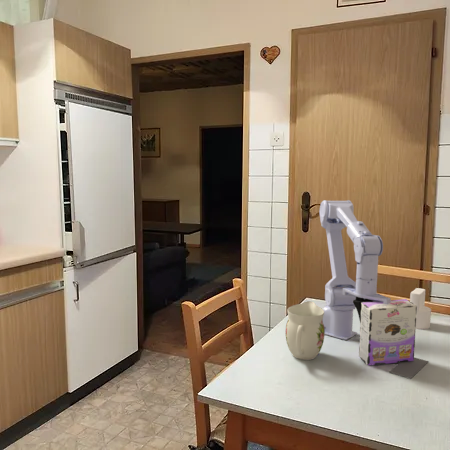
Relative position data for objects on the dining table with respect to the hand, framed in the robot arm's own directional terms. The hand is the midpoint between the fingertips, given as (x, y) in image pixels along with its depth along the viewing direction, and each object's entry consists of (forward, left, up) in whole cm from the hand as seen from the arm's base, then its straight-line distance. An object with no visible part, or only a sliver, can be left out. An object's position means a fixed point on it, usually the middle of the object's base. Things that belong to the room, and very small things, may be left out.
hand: (364, 324), depth 131 cm
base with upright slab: (+3, +38, -9) cm, 39 cm away
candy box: (+7, 0, -9) cm, 11 cm away
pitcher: (-12, -13, -9) cm, 20 cm away
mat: (+13, 0, -9) cm, 16 cm away
